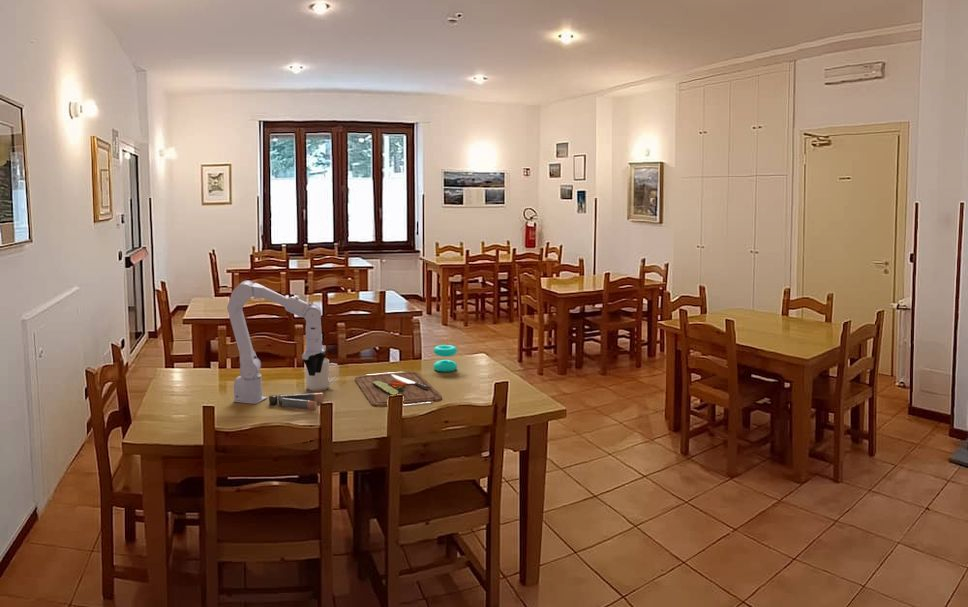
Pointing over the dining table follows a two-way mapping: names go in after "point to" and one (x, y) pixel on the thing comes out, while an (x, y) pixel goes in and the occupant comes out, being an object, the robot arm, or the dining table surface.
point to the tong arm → (302, 397)
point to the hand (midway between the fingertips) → (314, 373)
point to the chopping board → (397, 388)
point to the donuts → (445, 351)
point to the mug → (320, 378)
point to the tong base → (293, 403)
